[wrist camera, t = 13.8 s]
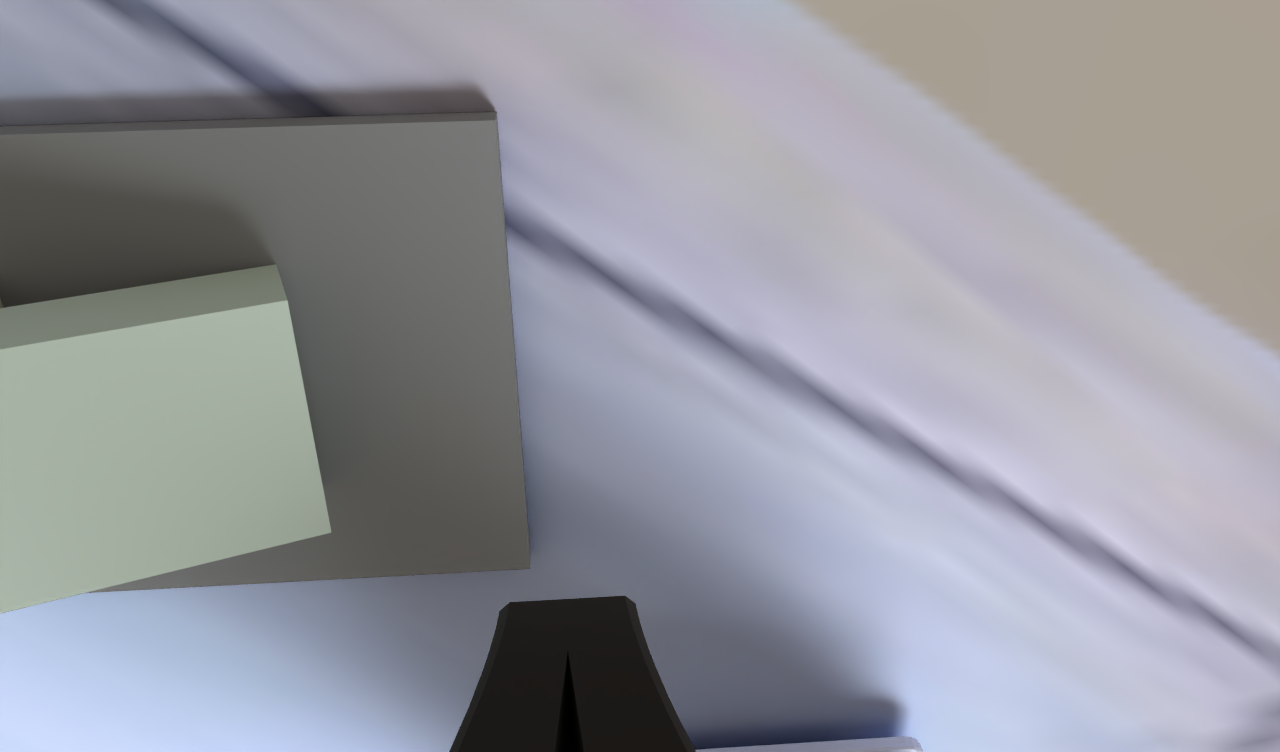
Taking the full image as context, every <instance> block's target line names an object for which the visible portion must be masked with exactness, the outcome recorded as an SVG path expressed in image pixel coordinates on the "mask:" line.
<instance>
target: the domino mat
mask: <svg viewBox="0 0 1280 752" xmlns="http://www.w3.org/2000/svg"><path fill="white" fill-rule="evenodd" d="M274 264H276V265H277V268H278V272H279V275H280V278H281V281H282V284H283V288H284V291H285V294H286V297H287V301H288V306H289V311H290V316H291V322H292V327H293V332H294V337H295V343H296V348H297V353H298V358H299V364H300V369H301V374H302V380H303V385H304V390H305V395H306V401H307V406H308V411H309V416H310V422H311V427H312V432H313V438H314V443H315V448H316V453H317V459H318V464H319V469H320V474H321V480H322V485H323V490H324V495H325V501H326V506H327V511H328V517H329V522H330V527H331V532H332V533H328V534H324V535H319V536H315V537H311V538H307V539H303V540H299V541H295V542H291V543H287V544H283V545H279V546H274V547H270V548H266V549H262V550H258V551H254V552H250V553H246V554H242V555H238V556H234V557H229V558H225V559H221V560H217V561H213V562H209V563H205V564H201V565H197V566H193V567H189V568H185V569H180V570H176V571H172V572H168V573H164V574H160V575H156V576H152V577H148V578H144V579H140V580H135V581H131V582H127V583H123V584H119V585H115V586H111V587H107V588H103V589H99V590H95V591H90V592H86V593H92V592H111V591H129V590H148V589H166V588H185V587H203V586H222V585H240V584H258V583H277V582H295V581H314V580H332V579H351V578H369V577H387V576H406V575H424V574H443V573H461V572H480V571H498V570H516V569H530V542H529V529H528V516H527V503H526V490H525V477H524V464H523V451H522V437H521V424H520V411H519V398H518V385H517V372H516V359H515V346H514V333H513V320H512V307H511V293H510V280H509V267H508V254H507V241H506V228H505V215H504V202H503V189H502V176H501V163H500V149H499V136H498V123H497V112H471V113H436V114H402V115H368V116H333V117H299V118H265V119H230V120H196V121H162V122H127V123H93V124H59V125H24V126H0V299H1V302H2V305H3V308H6V307H12V306H18V305H25V304H31V303H37V302H43V301H50V300H56V299H62V298H68V297H75V296H81V295H87V294H93V293H100V292H106V291H112V290H118V289H125V288H131V287H137V286H143V285H150V284H156V283H162V282H168V281H175V280H181V279H187V278H193V277H200V276H206V275H212V274H218V273H224V272H231V271H237V270H243V269H249V268H256V267H262V266H268V265H274Z"/></svg>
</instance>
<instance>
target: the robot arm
mask: <svg viewBox="0 0 1280 752" xmlns="http://www.w3.org/2000/svg"><path fill="white" fill-rule="evenodd" d="M449 752H923V751H922V748H921V745H920V743H919V742H918V741H917V740H916V739H914V738H912V737H906V736H899V737H883V738H868V739H852V740H837V741H822V742H806V743H791V744H775V745H760V746H744V747H729V748H713V749H698V750H695V749H694V747H693V745H692V743H691V741H690V739H689V737H688V735H687V733H686V732H685V730H684V728H683V726H682V724H681V722H680V720H679V718H678V716H677V714H676V712H675V710H674V708H673V705H672V703H671V701H670V699H669V697H668V695H667V693H666V690H665V688H664V686H663V683H662V681H661V679H660V676H659V674H658V672H657V669H656V667H655V664H654V662H653V659H652V657H651V654H650V651H649V649H648V646H647V643H646V640H645V637H644V634H643V631H642V628H641V625H640V621H639V618H638V613H637V609H636V604H635V603H634V602H632V601H631V600H630V599H629V598H627V597H626V596H614V597H597V598H579V599H561V600H543V601H525V602H510V603H509V604H507V605H506V606H505V607H504V608H503V609H502V610H501V611H500V612H499V617H498V622H497V626H496V630H495V634H494V637H493V641H492V644H491V648H490V651H489V654H488V657H487V660H486V663H485V666H484V669H483V672H482V675H481V677H480V680H479V682H478V685H477V688H476V690H475V693H474V695H473V698H472V701H471V703H470V706H469V708H468V711H467V713H466V715H465V717H464V720H463V722H462V724H461V726H460V729H459V731H458V733H457V736H456V738H455V740H454V742H453V745H452V747H451V749H450V751H449Z"/></svg>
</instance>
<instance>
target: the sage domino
mask: <svg viewBox="0 0 1280 752" xmlns="http://www.w3.org/2000/svg"><path fill="white" fill-rule="evenodd" d="M328 533H332V532H331V527H330V522H329V517H328V511H327V506H326V501H325V495H324V490H323V485H322V480H321V474H320V469H319V464H318V459H317V453H316V448H315V443H314V438H313V432H312V427H311V422H310V416H309V411H308V406H307V401H306V395H305V390H304V385H303V380H302V374H301V369H300V364H299V358H298V353H297V348H296V343H295V337H294V332H293V327H292V322H291V316H290V311H289V306H288V301H287V297H286V294H285V291H284V288H283V284H282V281H281V278H280V275H279V272H278V268H277V265H276V264H274V265H268V266H262V267H256V268H249V269H243V270H237V271H231V272H224V273H218V274H212V275H206V276H200V277H193V278H187V279H181V280H175V281H168V282H162V283H156V284H150V285H143V286H137V287H131V288H125V289H118V290H112V291H106V292H100V293H93V294H87V295H81V296H75V297H68V298H62V299H56V300H50V301H43V302H37V303H31V304H25V305H18V306H12V307H6V308H0V614H1V613H5V612H9V611H13V610H17V609H21V608H25V607H29V606H33V605H37V604H41V603H46V602H50V601H54V600H58V599H62V598H66V597H70V596H74V595H78V594H82V593H86V592H90V591H95V590H99V589H103V588H107V587H111V586H115V585H119V584H123V583H127V582H131V581H135V580H140V579H144V578H148V577H152V576H156V575H160V574H164V573H168V572H172V571H176V570H180V569H185V568H189V567H193V566H197V565H201V564H205V563H209V562H213V561H217V560H221V559H225V558H229V557H234V556H238V555H242V554H246V553H250V552H254V551H258V550H262V549H266V548H270V547H274V546H279V545H283V544H287V543H291V542H295V541H299V540H303V539H307V538H311V537H315V536H319V535H324V534H328Z"/></svg>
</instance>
